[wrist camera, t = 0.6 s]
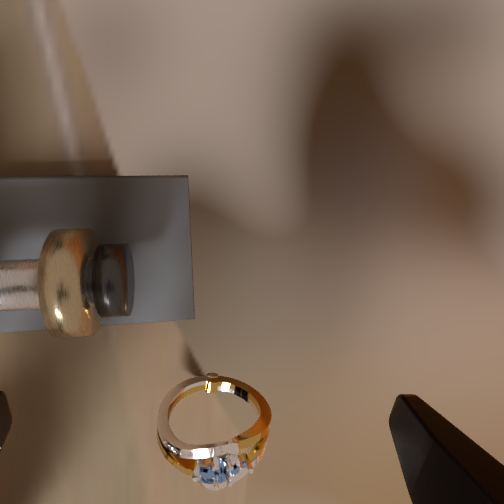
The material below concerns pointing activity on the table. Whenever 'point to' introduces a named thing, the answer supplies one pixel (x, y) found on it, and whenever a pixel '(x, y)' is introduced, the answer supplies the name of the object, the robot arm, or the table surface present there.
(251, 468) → the ring
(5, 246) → the block
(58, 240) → the shaft
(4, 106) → the table surface
